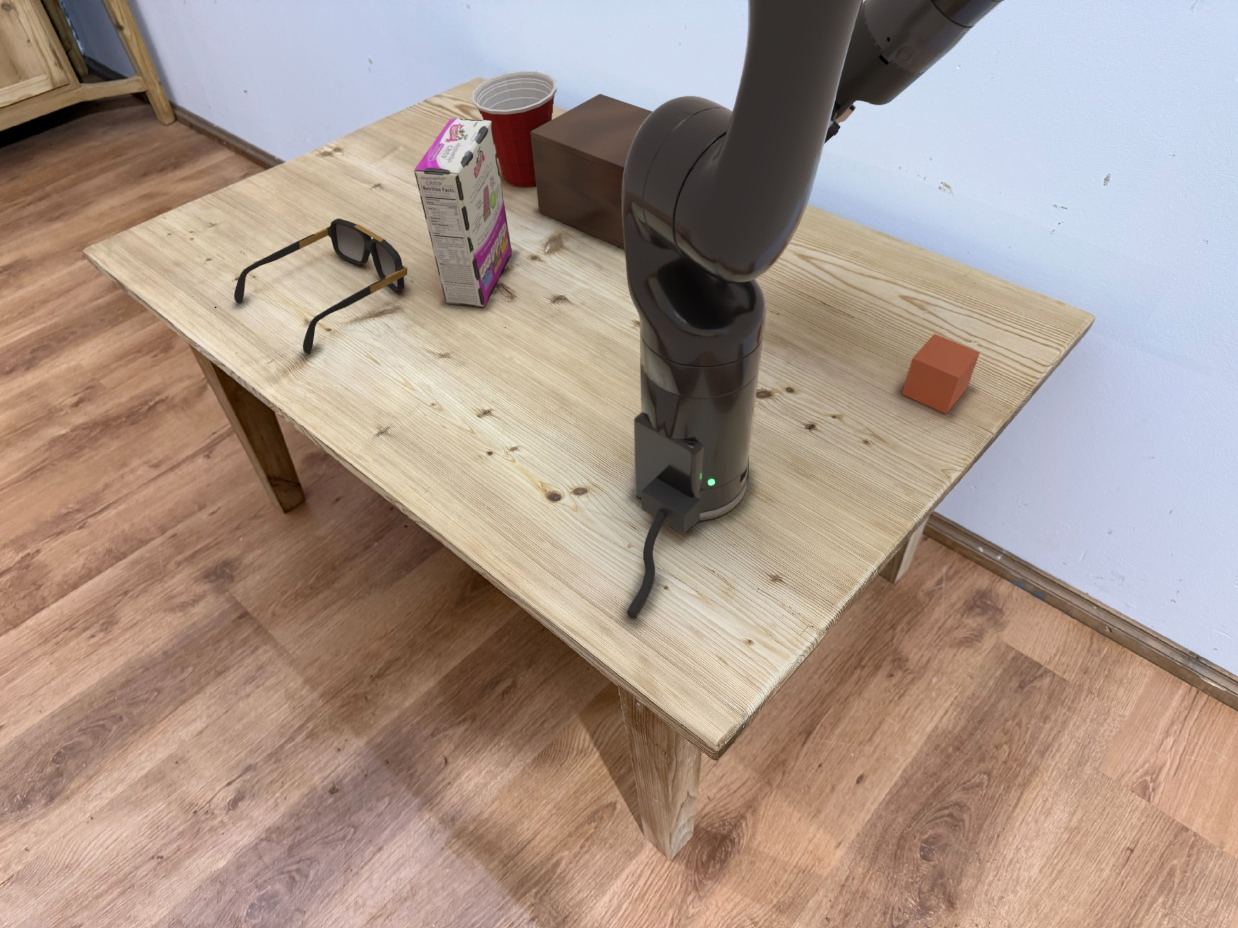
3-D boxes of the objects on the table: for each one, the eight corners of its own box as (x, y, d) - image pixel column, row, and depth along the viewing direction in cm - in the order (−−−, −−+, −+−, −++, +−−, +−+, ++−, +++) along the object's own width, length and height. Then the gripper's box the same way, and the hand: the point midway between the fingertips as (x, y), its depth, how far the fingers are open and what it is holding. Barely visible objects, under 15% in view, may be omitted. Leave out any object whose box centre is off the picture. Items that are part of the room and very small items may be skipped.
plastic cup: (477, 165, 116) (462, 76, 107) (553, 151, 118) (545, 63, 109) (492, 204, 109) (478, 112, 100) (574, 189, 111) (567, 98, 102)
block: (946, 414, 81) (959, 378, 77) (901, 394, 83) (912, 358, 79) (966, 388, 83) (980, 352, 80) (923, 369, 85) (934, 333, 82)
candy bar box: (473, 249, 102) (449, 116, 90) (513, 253, 101) (494, 119, 89) (441, 305, 95) (411, 167, 83) (484, 309, 94) (459, 171, 82)
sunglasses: (236, 304, 96) (220, 266, 92) (348, 246, 103) (336, 209, 100) (306, 356, 89) (291, 317, 86) (420, 290, 97) (411, 252, 93)
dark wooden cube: (691, 206, 107) (694, 125, 99) (628, 251, 101) (626, 168, 93) (603, 172, 114) (599, 93, 106) (539, 212, 107) (530, 131, 100)
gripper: (891, -44, 71) (768, 84, 84) (845, 40, 64) (718, 166, 77) (952, 21, 73) (822, 136, 86) (913, 110, 65) (777, 221, 79)
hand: (773, 150), depth 81 cm, fingers open, 8 cm apart
